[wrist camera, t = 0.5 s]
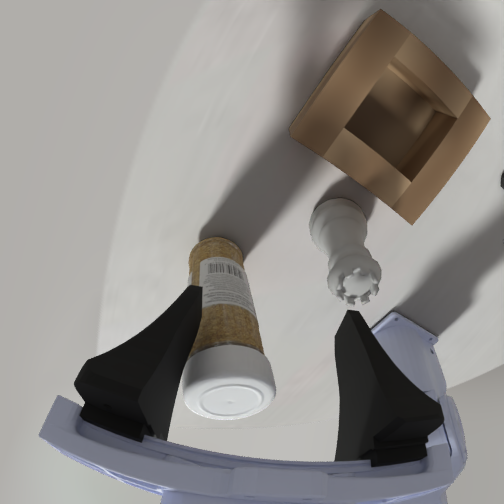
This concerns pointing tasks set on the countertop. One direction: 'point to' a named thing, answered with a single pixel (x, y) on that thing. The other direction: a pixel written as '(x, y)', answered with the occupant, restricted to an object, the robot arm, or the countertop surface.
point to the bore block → (391, 117)
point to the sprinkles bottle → (225, 339)
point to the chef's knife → (502, 185)
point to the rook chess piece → (345, 250)
